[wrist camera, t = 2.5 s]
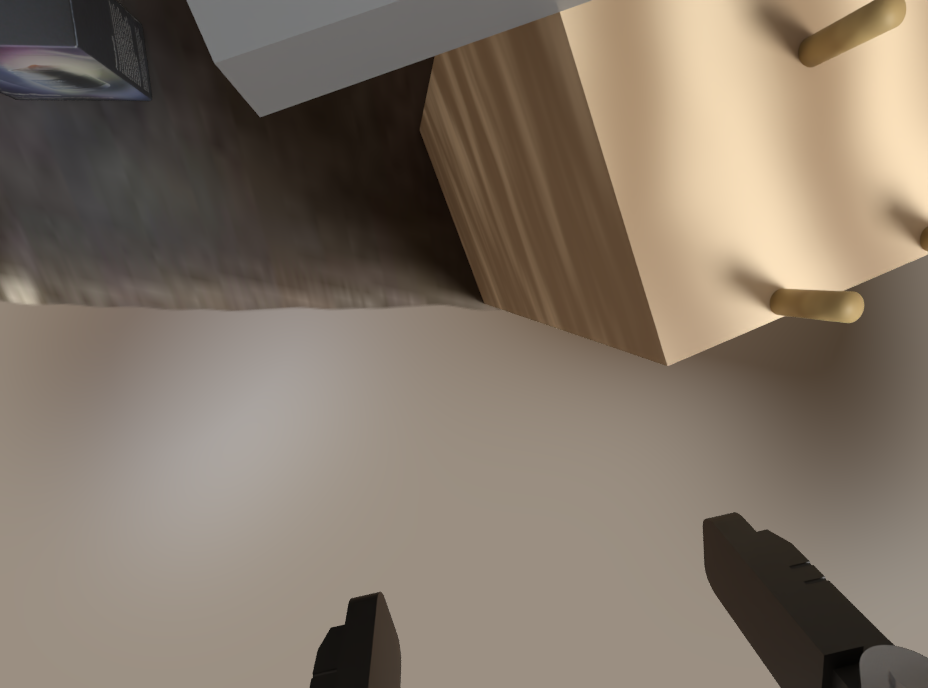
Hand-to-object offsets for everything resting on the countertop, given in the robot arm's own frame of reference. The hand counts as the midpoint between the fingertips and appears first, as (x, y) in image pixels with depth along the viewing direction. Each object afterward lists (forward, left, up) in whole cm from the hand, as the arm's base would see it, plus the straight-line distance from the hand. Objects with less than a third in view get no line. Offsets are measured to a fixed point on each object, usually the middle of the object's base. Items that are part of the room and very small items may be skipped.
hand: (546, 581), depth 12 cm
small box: (-28, +25, -36) cm, 52 cm away
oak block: (+10, +15, -36) cm, 40 cm away
